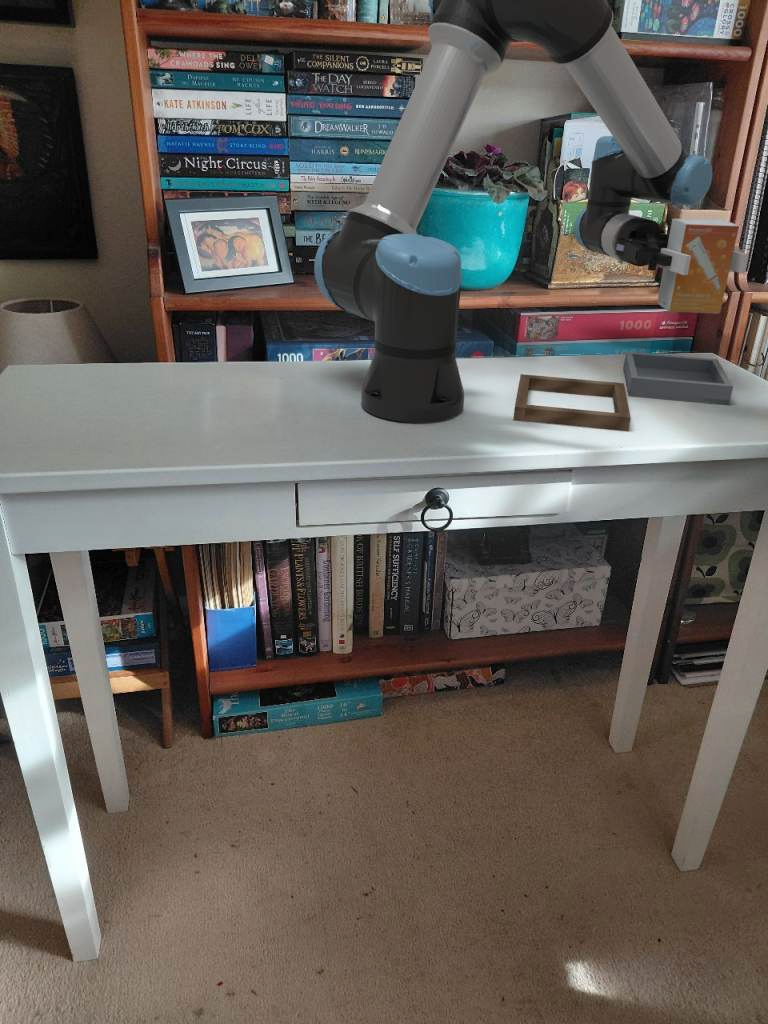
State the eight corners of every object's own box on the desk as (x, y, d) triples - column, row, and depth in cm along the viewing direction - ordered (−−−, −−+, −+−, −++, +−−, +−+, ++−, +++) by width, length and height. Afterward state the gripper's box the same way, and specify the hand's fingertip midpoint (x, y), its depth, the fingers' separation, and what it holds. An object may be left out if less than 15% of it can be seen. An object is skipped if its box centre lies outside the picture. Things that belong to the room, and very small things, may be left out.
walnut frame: (513, 420, 117) (514, 406, 117) (519, 386, 132) (520, 374, 131) (628, 431, 115) (630, 417, 114) (621, 395, 129) (623, 383, 128)
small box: (668, 313, 125) (685, 223, 120) (656, 303, 131) (671, 217, 125) (721, 314, 126) (740, 224, 120) (706, 304, 131) (724, 218, 125)
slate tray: (628, 396, 129) (631, 377, 127) (623, 368, 142) (625, 351, 141) (728, 405, 126) (733, 386, 125) (713, 376, 139) (717, 359, 138)
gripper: (684, 261, 145) (772, 288, 126) (573, 264, 139) (646, 292, 120) (693, 216, 141) (784, 236, 122) (579, 217, 136) (656, 239, 117)
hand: (716, 264), depth 121 cm, fingers closed on small box, 9 cm apart
